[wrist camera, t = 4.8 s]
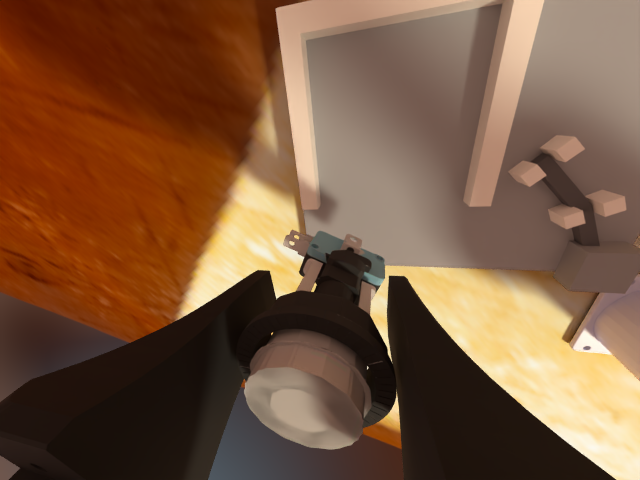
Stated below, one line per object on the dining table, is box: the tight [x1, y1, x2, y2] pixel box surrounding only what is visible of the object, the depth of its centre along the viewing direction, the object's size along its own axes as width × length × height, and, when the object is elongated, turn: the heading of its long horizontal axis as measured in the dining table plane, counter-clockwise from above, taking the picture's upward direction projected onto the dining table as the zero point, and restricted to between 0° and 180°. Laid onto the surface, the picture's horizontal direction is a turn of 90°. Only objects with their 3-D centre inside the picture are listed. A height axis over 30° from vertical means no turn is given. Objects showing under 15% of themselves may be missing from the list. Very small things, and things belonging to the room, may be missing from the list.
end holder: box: [275, 0, 544, 210], centre depth 14 cm, size 12×11×1 cm
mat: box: [303, 0, 640, 271], centre depth 15 cm, size 22×17×1 cm
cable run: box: [508, 135, 640, 294], centre depth 14 cm, size 4×11×2 cm, turn 37°
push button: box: [236, 230, 396, 449], centre depth 11 cm, size 7×5×10 cm
